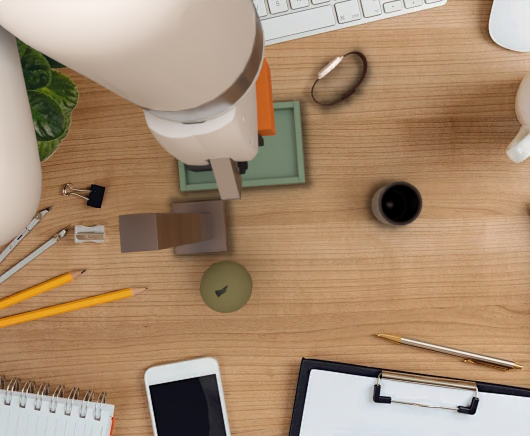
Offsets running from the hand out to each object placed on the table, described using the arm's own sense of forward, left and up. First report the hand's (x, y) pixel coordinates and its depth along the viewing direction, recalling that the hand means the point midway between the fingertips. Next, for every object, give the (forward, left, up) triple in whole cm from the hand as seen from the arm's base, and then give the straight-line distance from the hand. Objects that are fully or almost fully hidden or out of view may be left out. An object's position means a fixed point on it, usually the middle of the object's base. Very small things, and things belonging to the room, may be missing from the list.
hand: (240, 106), depth 46 cm
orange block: (0, 0, +1) cm, 1 cm away
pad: (-7, 0, -25) cm, 26 cm away
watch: (+8, +7, -26) cm, 28 cm away
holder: (-4, 0, -26) cm, 26 cm away
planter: (+13, -8, -26) cm, 31 cm away
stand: (-9, -9, -26) cm, 29 cm away
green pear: (-5, -16, -26) cm, 31 cm away
